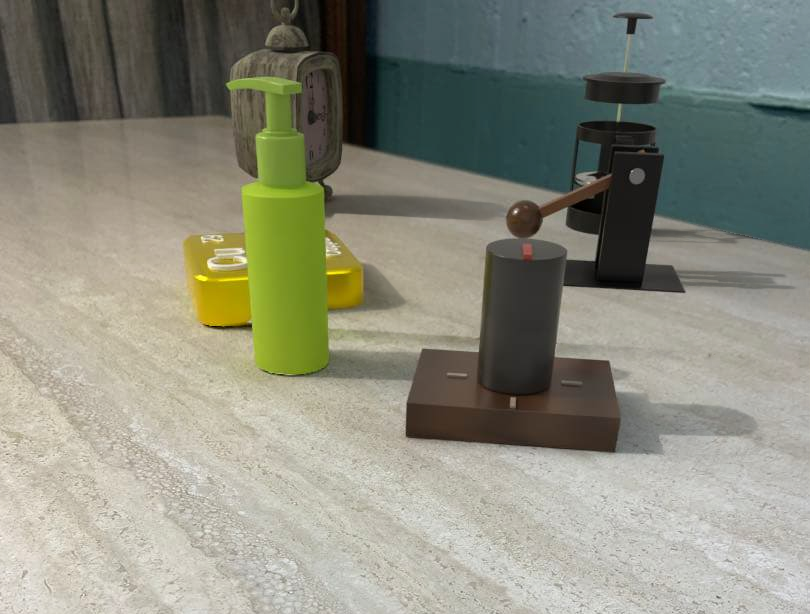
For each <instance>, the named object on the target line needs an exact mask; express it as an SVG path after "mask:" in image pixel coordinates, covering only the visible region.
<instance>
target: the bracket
mask: <svg viewBox="0 0 810 614" xmlns="http://www.w3.org/2000/svg"><path fill="white" fill-rule="evenodd" d="M641 150H644V151H645V153H640V152H638V151H641ZM659 151H660V148H659V146H658V145H655V146H650V145H618V144H611V149H610V157H609V164H608V171H607V175H609V174H611V180H610V187H609V189H607V190H605V192H604V199H603V206H602V213H601V221H600V228H599V235H597V243H596V248H595V249H596V250H595V257H594V260H581V259H566V267H565V275H564V283H563V287H571V288H572V287H573V288H589V289H590V288H591V289H607V290H622V291H623V290H627V291H642V292H657V293H658V292H660V293H662V292H663V293H674V294H675V293H679V294H685V293H686V291H685V289H684V287H683V285H682V283H681V280H680V279H679V276H678V275H677V272H676V270H675V268H674V266H673V264H671V265H670V264H656V263H647V260H648V259H647V258H648V254H649V247H650V242H651V236H652V231H653V230H652V229H653V224H654V219H655V213H656V208H657V207H656V206H657V201H658V195H659V190H660V184H661V177H662V172H663V166H664V162H665V154H664V153H661V152H660V153H659Z"/></svg>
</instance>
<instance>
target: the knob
mask: <svg viewBox="0 0 810 614" xmlns="http://www.w3.org/2000/svg"><path fill="white" fill-rule="evenodd" d="M484 257H485V258H484V270H483V284H482V285H483V286H482V299H481V300H482V301H481V313H480V327H479V342H478V352H479V354H478V368H477V380H478V382H479V383H480V384H481V385H483V386H484V387H486V388H488V389H490V390H493V391H497V392H501V393H506V394H532V393H537V392H541V391H543V390H545V389H547V388H548V387H549V386H550V385H551V381H552V373H553V365H554V357H556V348H557V339H558V332H559V331H558V330H559V323H560V315H561V307H562V299H563V290H564V286H563V283H564V275H565V267H566V259H567V257H568V250H567V248H566V247H564V246H563V245H561V244H559V243H557V242H553V241H548V240H544V239H538V238H537V239H536V238H527V239H526V238H517V237H515V238H504V239H503V238H502V239H498V240H494V241H491V242H489V243H488V244H487V245H486V248H485V256H484ZM567 260H568V259H567Z"/></svg>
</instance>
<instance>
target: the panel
mask: <svg viewBox="0 0 810 614" xmlns="http://www.w3.org/2000/svg"><path fill="white" fill-rule="evenodd" d="M478 354H479V351H468V350H454V349H439V348H425V347H424V348H422V349H421V351H420V354H419V358H418V361H417V365H416V369H415V372H414V375H413V379H412V382H411V385H410V389H409V392H408V396H407V400H406V403H405V437H409V438H420V439H421V438H422V439H434V440H447V441H449V440H450V441H462V442H475V443H488V444H489V443H490V444H502V445H515V446H516V445H517V446H531V447H544V448H554V449H555V448H557V449H570V450H583V451H595V452H612V453H615V452H616V449H617V445H618V439H619V432H620V429H621V428H620V427H621V421H622V416H621V410H620V406H619V402H618V396H617V392H616V385H615V381H614V376H613V371H612V366H611V362H610V360H608V359H607V360H605V359H594V358H593V359H591V358H578V357H577V358H575V357H561V356H554V365H553V373H552V381H551V385H550V386H549V387H548V388H547V389H545V390H543V391H541V392H537V393H532V394H506V393H501V392H497V391H493V390H490V389H488V388H486V387H484V386H483V385H481V384H480V383H479V382H478V380H477V368H478Z"/></svg>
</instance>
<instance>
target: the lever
mask: <svg viewBox="0 0 810 614" xmlns="http://www.w3.org/2000/svg"><path fill="white" fill-rule="evenodd" d="M638 152H640V153H645V151H644V150H641V151H638ZM610 180H611V174H609V175H607V176H604V177H602V178H600V179H598V180H596V181H593V182H591V183H589V184H587V185H585V186H582V187H581V186H579V187H578V188H576V189H573V191H571V192H569V191H568V192H567V193H565V194H562V195H561V196H558V197H556V198H554V199H552V200H550V201H547V202H545V203H542V204H541V205H538V204H537V203H536V202H534V201H532V200H528V199H521V200H518V201H516V202H515V203H513V204H512V205H511V206H510V208H509V209H508V211H507V213H506V217H505V224H506V228H507V230H508V232H509V233H510V234H511V235H512V236H513V237H515V238H526V239H532V238H533V237H534V236H536V235H537V234H538V233H539V231H540V230H541V228H542V225H543V221H544V218H547V217H549V216H551V215H553V214H555V213H557V212H560V211H562V210H564V209H567V208H568V207H569V206H571V205H573V204H576V203H578V202H580V201H582V200H584V199H587V198H592V197H594V195H596V194H598V193H600V192H602V191H605V190H607V189H609V187H610Z"/></svg>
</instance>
